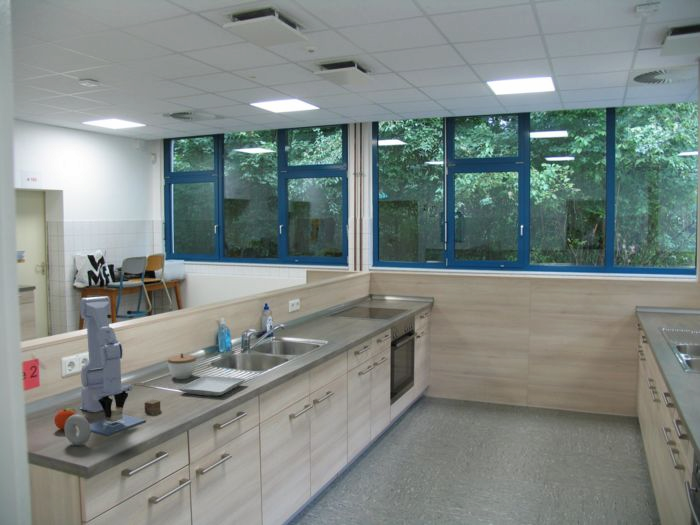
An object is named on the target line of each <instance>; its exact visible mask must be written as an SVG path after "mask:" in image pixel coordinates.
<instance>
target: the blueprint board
mask: <svg viewBox="0 0 700 525" xmlns="http://www.w3.org/2000/svg"><path fill="white" fill-rule="evenodd" d="M146 422H147V419H142V418H139V417H134V416H130V415H127V414H123V419H120V420H117V421H114V422H111V421H107V420H106V418H103V419H101V420H98V421H95V422H92V423H89V424H90V428H91V433H97V434H100V435H103V436H106V437H107V436H109V435H112V434H116V433H118V432H122V431H124V430H127V429H129V428H132V427H134V426H135V427H136V426H137V425H141V424H143V423H146Z"/></svg>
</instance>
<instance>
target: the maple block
mask: <svg viewBox="0 0 700 525" xmlns="http://www.w3.org/2000/svg"><path fill="white" fill-rule="evenodd" d="M123 415H124V414H123V410H122V407H117V406H116V405H114V406H113V405H112V407H111V417H110V418H108V417H106V416H105V419H106V420H107V421H111V422H114V421H117V420H120V419H123Z"/></svg>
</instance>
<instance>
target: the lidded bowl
mask: <svg viewBox="0 0 700 525" xmlns="http://www.w3.org/2000/svg"><path fill="white" fill-rule="evenodd" d="M196 360H197V357H196V355H192V354H184V353H180V354H179V355H178V354H177V355H173V356H170V357H168V358H167V364H168V370H169V372H170V374H171V376H172V377H174V379H177V380H182V379H183V380H184V379H190V378H191V377H192V374H194V372H195V370H196V364H197V361H196Z"/></svg>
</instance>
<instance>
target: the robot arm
mask: <svg viewBox="0 0 700 525" xmlns="http://www.w3.org/2000/svg"><path fill="white" fill-rule="evenodd" d="M110 311H111V300H110V297H109V296H108V295H105V296H95V297H93V296H92V297H81V299H80V301H79V312H80V313H79V314H80V318H81V319H83V320H85V322H86V332H87V351H88V361H87V362H86V363H84V365H82V367H81V373H80V381H81V385H82V387H83V388H82V389H81V391H80V392H81V393H80V394H81V396H80V397H81V399H80V400H81V407H79V410H82V409H83V411H86V410H87V412H92V413H98V412H101V411H103V413H104V416H105V418H106V417H108V418H110V417H111V407H113V405H112V404H113V398H110V397H112V396H113V397H114V401H115V406H117V407H122V411H123V410H124V405H125V403H126V401H127V398H128V397H129V393H128V392H131V391H132V390H133V386H132V384H125V385H122V368H121V366H122V365H121V359H122V358H123V346H122V343H121V342H120V340H118V339H117V336H116V333H115V330H114V329H113V328H112V326H111V327H110V324H109V319H108V317H109V316H108V315H109V313H110Z"/></svg>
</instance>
